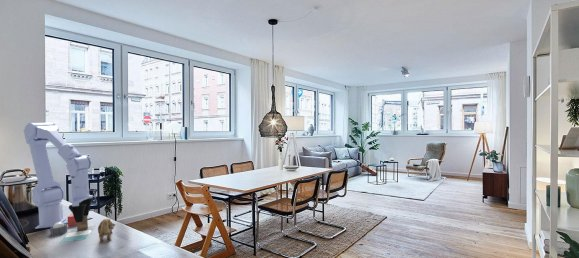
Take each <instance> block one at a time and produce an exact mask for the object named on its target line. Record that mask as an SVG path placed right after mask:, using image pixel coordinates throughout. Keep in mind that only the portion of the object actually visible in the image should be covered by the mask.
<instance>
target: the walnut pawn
mask: <svg viewBox="0 0 579 258" xmlns="http://www.w3.org/2000/svg"><path fill="white" fill-rule="evenodd" d="M76 226H77V227H76V228H77V230H78V231H82V230H86V229H88V227H89V221H88V216H83V221H82V222H77V225H76Z"/></svg>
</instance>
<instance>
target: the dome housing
mask: <svg viewBox="0 0 579 258" xmlns="http://www.w3.org/2000/svg"><path fill="white" fill-rule="evenodd" d="M63 224H64V226H63V227H60V228H53V226H52V227H49V232H50V233H49V234H50V236H54V237H55V236H60V235H63V234H66V233H67V232H68V223H67V224H66V223H63Z"/></svg>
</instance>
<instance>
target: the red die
mask: <svg viewBox="0 0 579 258" xmlns="http://www.w3.org/2000/svg"><path fill="white" fill-rule="evenodd" d="M74 226H77V223H76V221H75V218H74V216H73V213H71V214H69V215H68V216H67V227H74Z"/></svg>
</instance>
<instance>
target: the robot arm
mask: <svg viewBox="0 0 579 258" xmlns="http://www.w3.org/2000/svg"><path fill="white" fill-rule="evenodd" d="M59 129H60V128H59V126H57V124H56V123H55V122H53V121H51V122H28V123H26V125H25V126H24V129H23V134H24V138H25V143H26V144H27V145H28V146H29V149H30V155H31V158H32V162H33V167H34V171H35V175H36V180H37V184H36V185H35V186H34V187H33V188H32V190H31V193H32V195H31V201H32V203H33V204H34V205H35V206H36V207H37V208H38V221H39V224H38V225H37V226H36V227H34V228H35V230H36V229H44V228H45V229H46V228H51V227H52V226H54V224H56V223H58V222H62V223H64V221H66V218H67V217H65V218H64V211H63V210H64V209H63V204H62V201H63V200H64V198H65V190H64V188H63V187H62V184H61V183H60V182H59V181H56V180H54V177H53V173H52V167H51V164H50V163H51V162H50V159H49V156H48V151H47V147H46V145H47V144H48V143H51V144H53V146H54V147H56V148H57V154H58V155H59V156H60V157H61V158H62V159H63V160H64V162H65V163H66V165H65V166H66V169H67V170H68V176H69V177H70V180H71V181H70V182H71V204H69V206H68V209H69V210H70V212H71V214H73V216H74V218H75V221H76V223H77V222H82V221H83V216H87V217H88V216H89V213H90V208H91V204H92V202H93V199H94V198H93V197H94V196H93V194H92V195H91V194H90V188H89V187H90V184H89V183H90V182H89V171H88V170H89V169H90V168H91V166H92V160H91V159H90V158H89V156H88V155H84V154H81V153H80V152H79V150H78V149H77V148H76V147H75V146H74V144H71V143H67V142H66V140H65V139H64V138H63V136H62V135H61V134H60V133H59V131H60V130H59Z"/></svg>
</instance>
